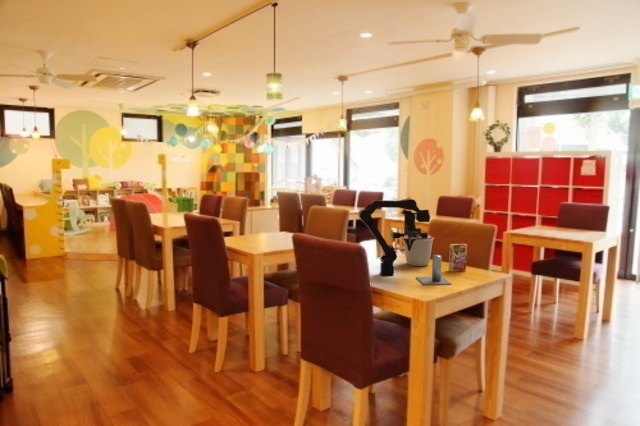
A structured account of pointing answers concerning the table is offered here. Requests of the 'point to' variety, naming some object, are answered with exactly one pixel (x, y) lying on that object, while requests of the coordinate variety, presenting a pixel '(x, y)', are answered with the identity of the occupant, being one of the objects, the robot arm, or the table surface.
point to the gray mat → (429, 281)
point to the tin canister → (436, 268)
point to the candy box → (457, 257)
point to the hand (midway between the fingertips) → (409, 250)
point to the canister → (419, 251)
